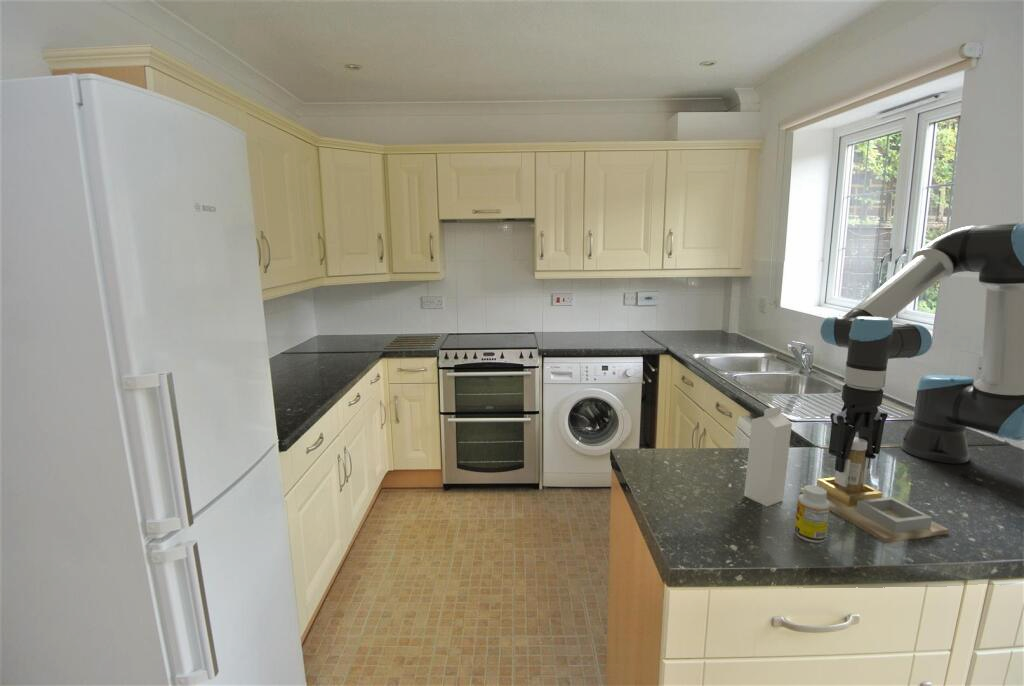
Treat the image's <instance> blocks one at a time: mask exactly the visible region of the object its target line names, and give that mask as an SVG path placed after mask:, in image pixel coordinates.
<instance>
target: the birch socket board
mask: <svg viewBox="0 0 1024 686" xmlns="http://www.w3.org/2000/svg"><path fill="white" fill-rule="evenodd" d="M803 491H804V487H800V489H799V493H801V494H802V493H803ZM882 498H887V496H884V495H882ZM826 499H827V500H828V501H829V502H830V510H829V511H831V512H833V514H835V515H838V516H839V517H841V518H842V519H844V520H845V521H848V522H849V523H851V524H853V525H855V527H857V528H859V529H860V530H863V531H864V532H866V533H868V534H870V535H871V536H873V537H875V538H876V539H878V540H880V541H881V542H883V543H891V542H893V543H894V542H901V541H906V540H912V539H913V540H914V539H921V538H928V537H935V536H943V535H949V531H950V530H949V529H948V528H947V527H945V526H943V525H941V524H939V523H936V522H935V521H933V520H932V522H931V527H930V529H924V530H917V531H909V532H902V533H893V532H891V531H890V530H888V529H886V528H884V527H883V526H881V525H879V524H877V523H876V522H874V521H872V520H870V519H868V518H867V517H865V516H863V515H861V514H860V513H858V512H856V509H857V506H853V507H847V506H846V505H844V504H842V503H840V502H839V501H837V500H835V499H833V498H832V497H830V496H828V495H827V498H826ZM882 512H884V513H886V514H888V515H889V516H891V517H893V518H895V519H900V518H904V517H902V516H900V515H898V514H897V513H895V512H893V511H891V510H887V511H882Z"/></svg>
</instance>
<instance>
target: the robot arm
mask: <svg viewBox="0 0 1024 686" xmlns="http://www.w3.org/2000/svg"><path fill="white" fill-rule="evenodd" d="M964 272H970V273H978V282H979V283H980V284H981V285H983V286H984V287H985V288H986V292H985V294H986V295H985V308H984V309H985V311H984V312H985V313H984V327H983V330H984V331H983V341H982V344H983V345H982V361H981V364H982V365H981V374H980V375H981V377H980V378H978V379H977V380H975V379H974V378H973V377H970V376H964V375H954V374H953V375H952V374H928V375H924V376H922V377H920V379H919V381H918V385H917V388H916V397H915V402H914V403H915V404H914V409H913V417H912V422H911V425H910V426H909V428H908V429H907V431H906V433H905V435H904V436H903V438H902V439H901V445H900V447H901V450H903V451H904V452H906V453H908V454H910V455H912V456H914V457H917V458H920V459H924V460H927V461H933V462H936V463H937V462H938V463H943V464H951V465H952V464H954V465H956V464H957V465H958V464H959V465H960V464H965V463H967V462H969V457H970V450H969V445H968V442H967V441H968V440H967V438H966V428H969V429H972V430H975V431H979V432H983V433H986V434H989V435H992V436H993V435H994V436H996V437H999V438H1005V439H1008V440H1013V441H1024V222H1016V223H999V224H982V225H981V224H974V225H973V224H972V225H967V226H963V227H960V228H956V229H953V230H951V231H949V232H947V233H945V234H942V235H940V236H938V237H936V238H934V239H933V240H931V241H929V242H928V243H927V244H925V245H924V246H922V247H921V248H919V250H917V251H916V252H915V253H914V254H913V255H912V258H911V261H910V262H908V264H906V265H905V266H904V267H903V268H901V269H900V270H899V271H897V273H895V274H894V275H893V276H892V277H890V278H888V279H887V280H886V282H884V283H882V285H881V286H880V287H878V288H877V289H876V290H874V291H873V292H872V293H871V294H869V295H868V296H867V297H865V298H864V299H863V300H862V301H861V302H860V303H858V304H857V305H855V306H854V307H853V308H852V309H850V310H849V311H848V312H847V313H846V314H844V315H843V316H841V315H840V314H839V315H831V316H828V317H827V318H826V319H824V320H823V322H822V324H821V325H820V336H821V338H822V340H823V341H824V342H825V343H827V344H828V345H832V346H836V347H839V348H846V349H847V359H846V363H845V370H844V379H843V382H844V385H842V392H841V400H842V402H843V406H842V408H841V411H839V412H838V413H835V412H833V413H832V412H831V414H830V415H829V417H830V421H831V422H830V423H831V428H830V437H829V443H828V454H829V455H831V456H834V457H835V466H834V469H835V474H834V475H835V476H834V477H835V483H837V484H839V485H841V486H843V487H847V484H848V476H849V469H850V462H851V460H849V459H848V456H849V453H850V450H851V447H852V444H853V441H854V438H855V437H856V434H858V435H857V437H858V438H861V439H864V440H866V441H867V450H866V452H865V459H864V467H863V477H862V483H861V485H865V484H866V480H867V474H868V470H869V468H870V463H871V459H873V460H875V458H876V457H877V455H879V454H880V452H881V445H882V439H883V433H884V427H885V423H886V421H887V418H888V417H889V415H888V413H887V412H884V411H882V410H879V408H878V407H880V406H882V404H883V397H884V390H883V388H884V387H885V386H886V385H885V384H886V377H887V369H888V362H889V360H890V359H891V360H892V359H905V358H906V359H910V358H915V357H919V356H922V355H924V354H926V353H927V352H928V351H929V350H930V349H931V347H932V344H933V337H932V334H931V332H930V331H929V330H928V329H927V328H926V327H925V326H923V325H920V324H915V323H914V324H913V323H904V324H901V323H900V324H899V323H894V321H893V320H892V319H893V318H894V317H895V316H896V315H897V314H899V313H900V312H901V311H902V310H903V309H905V308H907V306H909V305H910V304H911V303H912V302H913V301H914V300H915V299H917V298H918V297H920V296H921V295H922V294H923V293H924V292H925V291H927V290H928V289H929V288H931V287H932V286H933V285H934V284H935V283H937V282H938V281H943V280H946V279H948V278H949V277H950V276H952V275H953V274H957V273H964Z"/></svg>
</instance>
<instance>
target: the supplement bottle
mask: <svg viewBox="0 0 1024 686" xmlns="http://www.w3.org/2000/svg"><path fill="white" fill-rule="evenodd" d="M803 488H804V491H803V494H802V493H801V494H799V495H798V497H797V504H796V505H797V506H796V514H795V521H794V533H795V535H796V536H797V537H798V538H800V539H802V541H803V540H804V541H806V542H808V543H809V542H810V543H815V544H819V543H823V542H824V541H826V539H827V533H828V527H829V525H828V524H829V517H830V511H831V510H830V502H829V501H828V500H827V499H826V498H827V491H826V490H825V489H823V488H821V487H818V486H817V485H814V484H813V485H809V484H807V485H805V486H804V487H803Z"/></svg>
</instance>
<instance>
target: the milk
mask: <svg viewBox="0 0 1024 686" xmlns="http://www.w3.org/2000/svg"><path fill="white" fill-rule="evenodd" d="M763 414H764V415H763V416H760V417H756V418H752V419H751V425H750V434H749V442H748V443H749V445H748V453H747V463H746V465H747V466H746V471H745V472H746V473H745V474H746V475H745V483H744V492H743V494H744V495H743V496H744V497H746V498H748V499H750V500H752V501H754V502H756V503H759V504H761V505H763V506H765V507H770V506H772V505H775V504H778V503H780V502H783V500H784V494H785V486H786V477H787V468H788V461H789V460H788V459H789V452H790V451H789V450H790V443H791V435H792V427H793V426H792V425H793V424H792V422H791V421H790V420H789V419H788V417H786V416H785V415H784V414H783V413H782V407H781V406H780V405H779V406H775V407H771V408H767V409H766V408H765V410H764V413H763Z"/></svg>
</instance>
